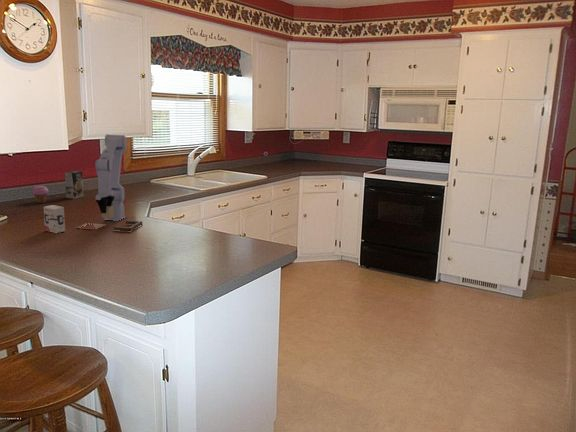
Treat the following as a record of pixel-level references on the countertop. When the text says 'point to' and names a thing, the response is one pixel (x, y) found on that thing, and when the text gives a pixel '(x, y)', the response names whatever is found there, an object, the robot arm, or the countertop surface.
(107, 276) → the countertop surface
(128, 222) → the shelf bay
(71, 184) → the coffee box
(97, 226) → the plate
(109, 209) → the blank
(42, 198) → the cupcake
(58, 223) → the ink box
